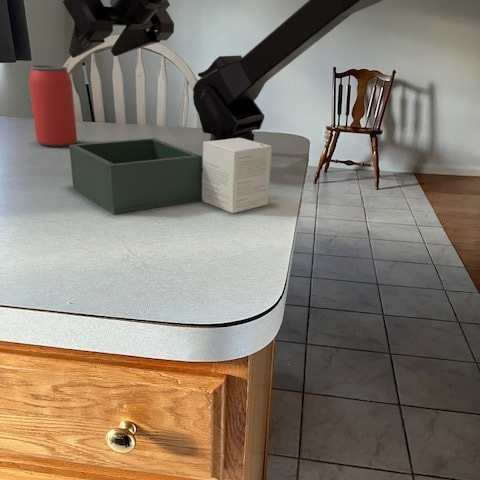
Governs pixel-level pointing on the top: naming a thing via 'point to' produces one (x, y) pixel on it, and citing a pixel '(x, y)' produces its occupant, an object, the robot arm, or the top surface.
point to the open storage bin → (136, 174)
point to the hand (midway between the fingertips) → (93, 54)
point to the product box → (236, 174)
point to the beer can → (53, 105)
